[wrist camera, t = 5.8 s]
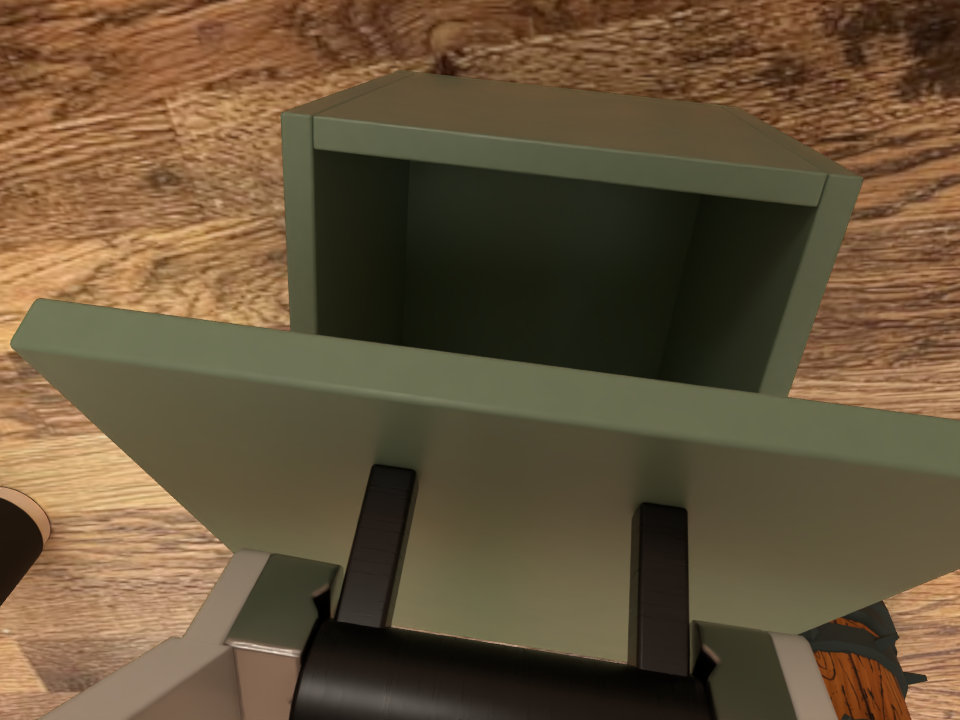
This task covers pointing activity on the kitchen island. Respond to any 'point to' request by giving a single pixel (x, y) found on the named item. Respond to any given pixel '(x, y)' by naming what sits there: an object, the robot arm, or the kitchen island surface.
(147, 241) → the kitchen island surface
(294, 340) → the bin lid
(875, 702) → the mug
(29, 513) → the dixie cup
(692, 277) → the bin
